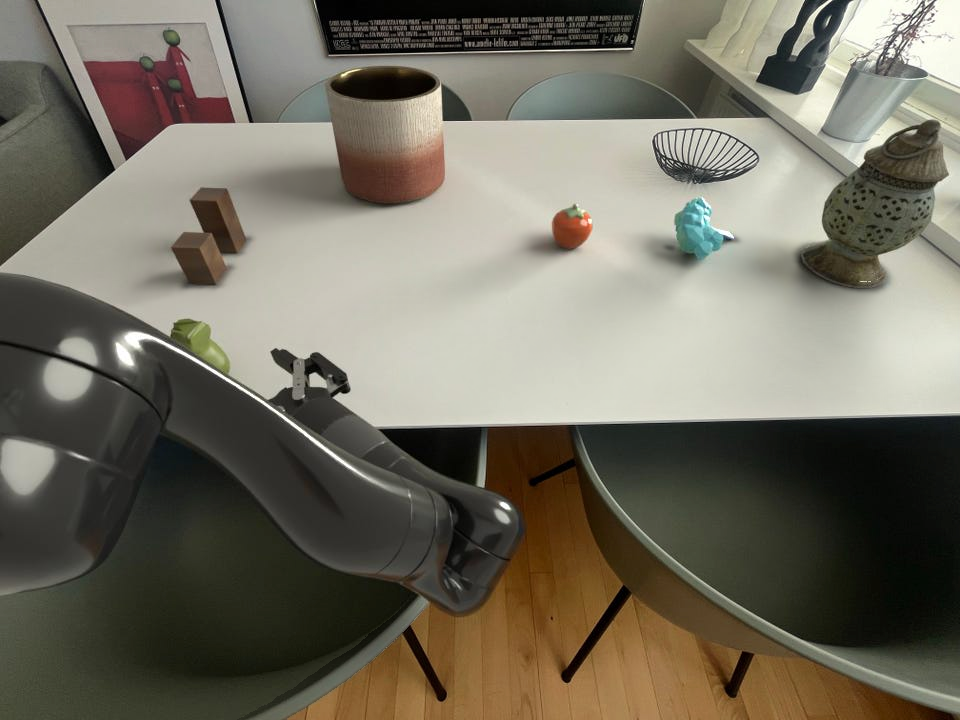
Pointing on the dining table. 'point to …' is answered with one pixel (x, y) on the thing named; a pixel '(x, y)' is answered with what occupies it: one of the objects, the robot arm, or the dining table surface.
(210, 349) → the olive green lumpy piece
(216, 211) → the block far
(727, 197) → the dining table surface
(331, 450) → the robot arm
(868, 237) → the lantern
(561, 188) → the dining table surface
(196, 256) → the block near
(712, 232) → the turquoise faceted lumpy piece
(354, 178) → the planter
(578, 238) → the tomato
